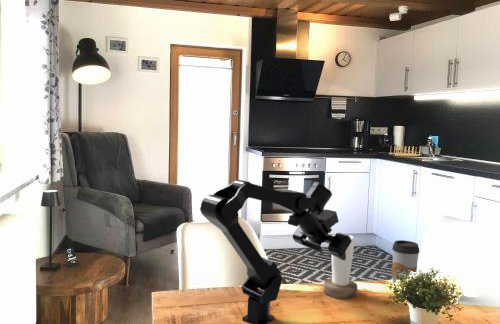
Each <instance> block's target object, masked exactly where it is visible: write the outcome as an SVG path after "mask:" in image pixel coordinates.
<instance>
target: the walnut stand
mask: <svg viewBox="0 0 500 324" xmlns="http://www.w3.org/2000/svg"><path fill="white" fill-rule="evenodd" d="M323 285H324V286H323V294H325V295H326V297H327V296H328V297H329V298H332V299H336V300H345V301H346V300H352V299H354V298H356V297H357V294H358V284H357V283H356V281H355V282H354V281H352V280H350V279H349V284H348V285H347V286H337V285H335V284H333V283H332V277H331V278H327V279H326V280H324V283H323Z"/></svg>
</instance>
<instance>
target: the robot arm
mask: <svg viewBox="0 0 500 324" xmlns="http://www.w3.org/2000/svg"><path fill="white" fill-rule="evenodd" d="M332 196H333V193H332V191H331V190H330V189H329V188H327V187H326V186H324V185H323V184H321V182H318V181H314V182H313V183H312V185H311V187H310V189H308V191H307V192H306V193H304V192H301V191H297V190H291V189H274V188H270V187H266V186H263V185H262V186H261V185H259V184H254V183H251V182H250V181H247V180H242V179H237V180H234V181H233V182H232V183H230V184H228V185H227V186H224V187H222V188H220V189H217V190H216V191H214V192H213V193H212V194H208V195H207V196H205V197H204V198H203V199H202V200H201V204H200V208H199V210H200V214H202V216H203V217H204V218H205V219H206V220H208V222H209V223H211V224H212V225H213V226H215V227H216V228H218V229H219V230H220V231H221V232H222V234H223V235H224V236H225V237H226V240H227V241H228V242H229V244H230V245H231V247H232V248H233V249H234V251H235V253H236V254H237V255H238V256H239V258H240V260H241V261H242V262H243V264H244V265H245V267H246V275H247V278H246V280H245V281H244V282H243V284H242V285H241V288H240V289H241V291H242V293H243V294H244V295H246V296H247V297H248V298H247V312H246V313H247V314H246V315H244V316H242V321H246V322H248V323H251V324H268V323H270V322H272V320H274V319H276V318H275V315H273V314H271V302H274V301H276V300H277V298H278V296H279V293H280V289H281V286H282V281H283V278H282V271H280V270H279V268H278V266H277V264H276V262H275V261H272V260H270V259H267V258H265V257H262V256H261V254H260V252H259V251H258V250H257V248H256V247H255V245H254V243H253V242H252V240H251V239H250V237H248V235H247V233H246V232H245V230H244V229H243V227H242V226H241V223H240V222H239V213H238V212H239V211H240V210H241V209H242V208H243V207H244V205H245V203H246V201H247V200H248V199H252V200H253V199H254V200H259V201H263V202H267V203H270V204H272V205H274V206H276V207H278V208H279V209H281V210H283V211H287V212H291V213H292V214H290V215H289V216H288V217H289V218H288V221H287V225H291V226H293V227H297V228H296V229H295V231H294V232H293V234H292V239H293V240H294V242H295V243H297V244H299V245H302V246H304V247H306V248H309V249H311V250H313V251H315V252H318V253H322V252H323V247H322V246H321V245H322V244H324V243H326V244H328V246H327V247H328V248H327V250H328V252H329V253H330V255H333V256H335V257H337V258H339V259H341V260H343V261H345V259H346V253H345V251H346V250H347V248H348V246H349V245H350V243H351V242H352V240H351V238H350V237H349V235H350V234H347V235H345V234H346V233H341V232H337V233H335V234H336V235H335V236H332V234H330V233H331V232H332V231H333V229H332V227H333V226H335V225H336V224H338V223H339V217H338V214H337V211H336V210H335V211H334V210H331V209H324V208H325V207H326V205H327V204H328V202H329V200H330V199H331V198H332Z"/></svg>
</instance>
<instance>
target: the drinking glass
mask: <svg viewBox="0 0 500 324" xmlns="http://www.w3.org/2000/svg"><path fill="white" fill-rule="evenodd" d="M344 234H345V235H349V237H350V238H351V240H352V242H351V243H350V245H349V246H348V248H347V250H346V251H345V253H346V259H345V261H343V260H341V259H339V258H337V257H335V256H333V255H331V254H330V255H331V258H330V259H331V278H332V283H333V284H335V285H337V286H347V285H348V284H349V280H350V279H351V278H350V277H351V272H352V271H351V269H352V263H353V257H354V248H355V237H354V236H353V235H351V234H346V233H344ZM335 235H336V233H334V234H331V236H335Z"/></svg>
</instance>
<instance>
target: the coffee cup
mask: <svg viewBox="0 0 500 324" xmlns="http://www.w3.org/2000/svg"><path fill="white" fill-rule="evenodd" d="M391 249H392V284H393V283H395V282H396V279H395V276H396V274H399V273H401V272H403V271H405V270H411V271H413V272H416V273H417V270H418V260H419V254H420V247H419V244H418V243H417V242H415V241H410V240H403V239H402V240H401V239H400V240H395V241H394V242H393V244H392V247H391Z"/></svg>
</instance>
